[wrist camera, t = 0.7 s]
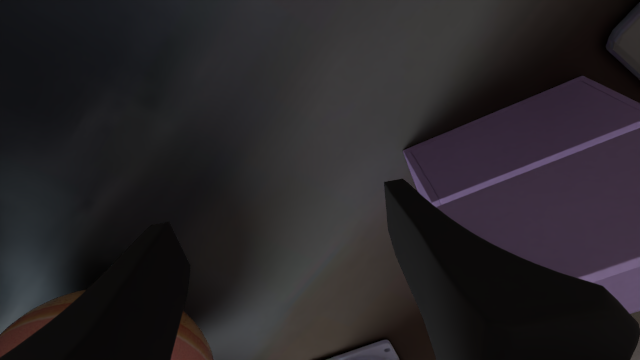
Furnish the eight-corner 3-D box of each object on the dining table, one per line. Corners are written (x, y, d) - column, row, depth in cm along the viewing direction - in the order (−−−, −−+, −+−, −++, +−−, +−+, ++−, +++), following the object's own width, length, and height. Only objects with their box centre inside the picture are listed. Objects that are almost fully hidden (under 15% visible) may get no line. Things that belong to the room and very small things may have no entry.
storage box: (402, 150, 24) (436, 212, 19) (582, 74, 22) (675, 120, 17) (453, 287, 31) (488, 360, 26) (591, 238, 29) (658, 305, 24)
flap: (438, 213, 19) (435, 206, 19) (672, 123, 17) (671, 114, 17) (499, 314, 13) (497, 305, 12) (875, 187, 11) (877, 176, 11)
